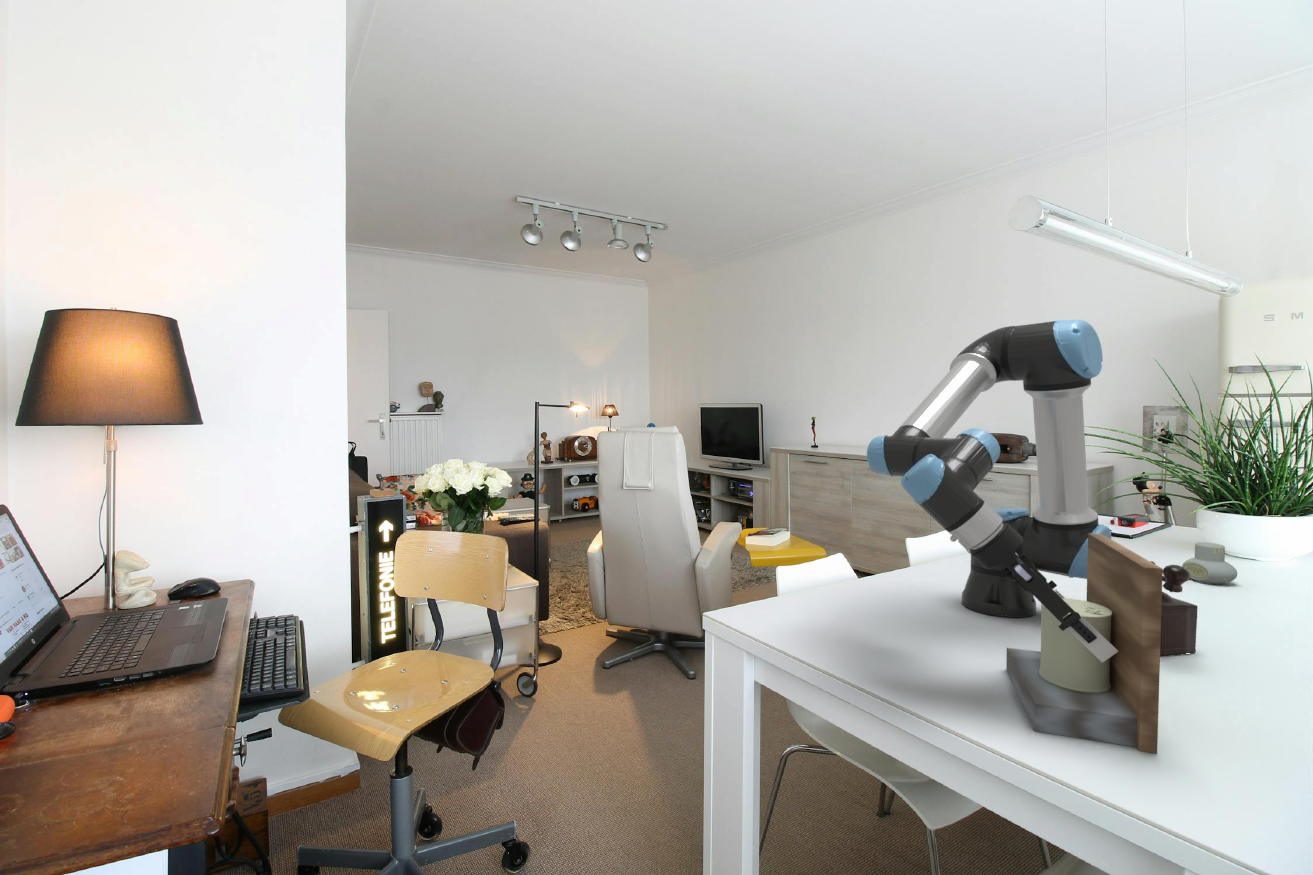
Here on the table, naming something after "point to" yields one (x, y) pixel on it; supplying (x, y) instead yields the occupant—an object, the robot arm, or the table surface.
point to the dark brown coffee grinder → (1177, 615)
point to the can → (1074, 650)
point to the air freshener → (1210, 564)
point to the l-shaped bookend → (1133, 669)
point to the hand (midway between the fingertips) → (1094, 639)
